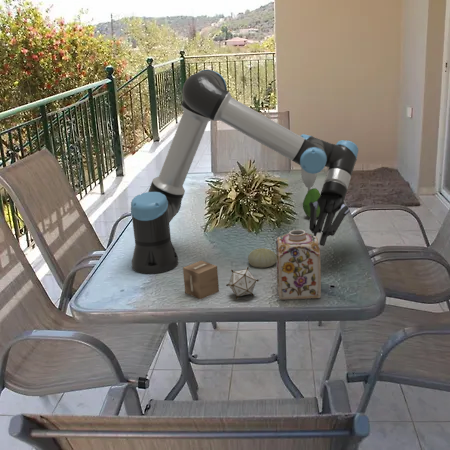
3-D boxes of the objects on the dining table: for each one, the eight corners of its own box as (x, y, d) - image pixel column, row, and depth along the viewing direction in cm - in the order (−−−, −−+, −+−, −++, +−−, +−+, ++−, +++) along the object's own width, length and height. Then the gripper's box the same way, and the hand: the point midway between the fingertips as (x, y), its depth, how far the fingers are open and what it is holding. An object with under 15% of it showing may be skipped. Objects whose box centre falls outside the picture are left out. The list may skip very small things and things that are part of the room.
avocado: (323, 214, 234) (323, 185, 230) (323, 220, 226) (323, 190, 223) (303, 214, 235) (302, 185, 231) (302, 221, 228) (301, 191, 224)
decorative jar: (321, 299, 162) (320, 238, 156) (279, 300, 162) (277, 240, 157) (316, 281, 173) (315, 224, 167) (277, 283, 174) (275, 225, 168)
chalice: (320, 206, 245) (320, 164, 239) (314, 210, 240) (313, 167, 234) (304, 204, 249) (304, 162, 243) (297, 208, 243) (296, 166, 238)
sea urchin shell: (271, 266, 182) (254, 246, 183) (256, 279, 186) (240, 260, 188) (284, 256, 189) (268, 237, 190) (269, 269, 194) (254, 251, 195)
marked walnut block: (184, 293, 171) (182, 267, 169) (203, 285, 176) (201, 259, 173) (200, 299, 166) (198, 273, 164) (218, 291, 171) (217, 265, 168)
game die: (248, 309, 167) (255, 292, 159) (220, 298, 168) (225, 281, 160) (257, 284, 172) (264, 266, 164) (230, 274, 173) (235, 255, 165)
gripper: (358, 194, 183) (338, 262, 174) (319, 190, 189) (298, 256, 181) (352, 181, 177) (331, 251, 169) (312, 178, 183) (290, 245, 175)
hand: (314, 254), depth 175 cm, fingers closed
